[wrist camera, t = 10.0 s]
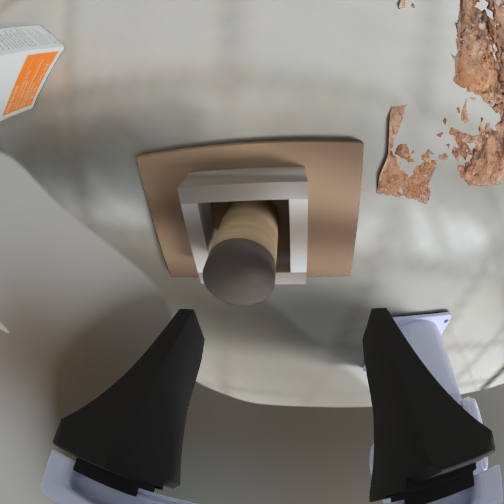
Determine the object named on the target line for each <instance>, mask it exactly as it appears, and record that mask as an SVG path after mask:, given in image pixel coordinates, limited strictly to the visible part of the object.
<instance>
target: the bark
mask: <svg viewBox="0 0 504 504" xmlns="http://www.w3.org/2000/svg"><path fill="white" fill-rule="evenodd" d="M486 1H487V2H488V3H489V4H488V6H487V9H489V10H491V11H492V12H493V14H494V20H492V19H491V18H489V17H488V16H487V13H486V11H485V10H483V11H480V10H479V9H478V8H476V7H474V6H475V5H476V3H477V2H480V1H479V0H461V2H460V12H459V16H458V17H459V20H458V24H457V23H456V27H457V32H458V35H457V38H458V39H456V43H457V50H458V54H457V55H456V57H455V56H453V55H452V54H451V55H452V57H453V58H454V60H455V76H454V79H453V81H454V82H455V83H456V84H457V85H459V86H461V87H462V88H466V87H467V92H471V91H472V92H474V93H475V94H478V95H480V96H481V97H482V99H483V101H484V102H486V103H488V104H489V105H490V106H491V108H493V109H494V111H495V112H496V113H499V114H500V115H501V121H500V122H498V123H497V125H495V127H496V130H497V131H493V130H492V129H490V123H486V127H485V130H484V129H483V127H482V124H480V126H479V127H478V129H479V135H475V136H472V135H469V134H466V133H463V132H461V131H459V130H457V129H454V128H452V127H451V129H450V132H449V134H451V135H454V138H455V140H456V142H457V144H458V146H459V148H456V147H453V150H452V154H454V156H455V158H456V160H457V162H458V160H459V154H460V155H461V156H462V157H463V158H464V159H465V160H466V157H467V154H470V155H472V159H470V162H468V163H467V162H466V163H465V167H464V166H462V165H458V168H457V170H458V171H459V172H460V177H461V178H462V180H464V181H466V180H467V181H468V183H469V185H470V186H471V185H480V186H482V185H491V184H494V185H495V184H496V185H498V184H501V183H500V182H501V181H502V178H503V176H504V92H502V91H504V8H503V5H504V0H501V1H502V2H503V4H500V7H499V6H498V5H497V4H496V3H495V2H496V0H486ZM403 7H405V0H401V1H400V5H399V9H400V8H403ZM411 7H413V8H414V7H415V5H414V4H413V3H412V5H411ZM492 7H493V8H494V10H493V9H492ZM495 25H496V28H495ZM499 25H500V26H499ZM487 37H488V38H487ZM494 43H496V47H497V50H498V51H495V49H494V48H493V44H494ZM490 44H491V45H492V49H493V51H494V52H495V55H496V57H497V60H496V59H494V56H493V51H490V48H491V47H490V46H489V45H490ZM488 51H490V53H489V52H488ZM490 94H492V95H493V97H490ZM471 99H472V100H473V101H474V100H475V98H471ZM466 100H467V99H466ZM489 100H493V101H494V102H496V103H498V104H496V103H494V104H495V106H493V103H492V102H491V101H489ZM405 108H406V105H402V106H393V107H391V111H390V122H389V146H388V157H387V159H386V162H385V164H384V166H383V169H382V171H381V173H380V176H379V180H380V178H381V179H382V180H381V181H380V182H378V189H377V193H380V194H381V193H384V194H385V195H393V196H396V197H397V196H399V197H400V196H402V195H404V196H406V198H408V199H411V198H414V200H415V199H418V201H419V202H424V204H426V203H427V201H428V200H429V197H430V189H429V187H428V185H429V183H430V180H431V177H432V175H433V172H434V168H435V167H436V161H434V160H430V156H429V155H428V154H429V153H430V154H433V153H432V152H431V151H430V150H429V149H428V150H427V152H426V153H425V154H423V155H422V156H421V157H422V160H424V162H423V163H422V164H421V165H420V166H417V167H416V168H415V169H414V175H412V176H411V177H408V175H407V174H406V173H405V172H404V171H402V170H401V171H399V169H400V167H399V166H398V164H397V162H396V157H395V156H394V155H393V153H392V151H391V149H392V147H393V137H394V134H395V135H397V132H398V130H399V128H400V124H401V121H402V118H403V115H404V111H405ZM457 110H458V113H460V110H459V107H458V108H457ZM467 116H468V114H467V113H466V101H465V104H464V107H463V110H462V114H461V121H463V122H465V123H466V122H467V121H469V120H468V119H467ZM482 120H483V118H482V117H481V122H482ZM443 122H444V124H446V118H444V120H443ZM483 130H484V131H483ZM442 134H443V133H442V132H441V133H439V134H437V136H438V137H441V135H442ZM465 142H468V143H472V142H474V143H475V144H476V147H475V148H474V149H473V152H472V151H471V150H470V148H469V146H468V145H467V144H466V143H465ZM446 146H448V148H449V144H447V145H446ZM479 149H480V151H479ZM467 150H468V153H467V152H466V151H467ZM412 153H414V150H413V151H412ZM412 153H411V154H412ZM395 154H396V155H398V156H400V157H401V158H405V159H406V160H407V161H408V162H413V159H411V158H410V156H409V149H408V147H407V145H406V144H400V145H399V146H398V147H397V149H396V152H395ZM411 154H410V155H411ZM447 157H448V156H447V155H446V153H445V154H442V155H440V156H439V159H442V160H445V159H446V158H447ZM474 172H475V173H476V174H475V175H474ZM426 174H427V175H428V176H427V177H424V176H423V175H426ZM467 181H466V182H467ZM400 187H401V188H402V189H403V193H402V194H401V193H400V192H399V189H400Z"/></svg>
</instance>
